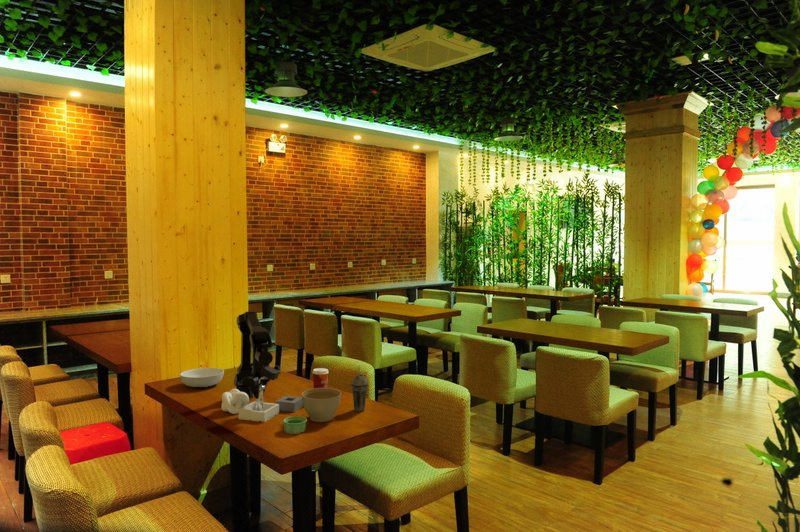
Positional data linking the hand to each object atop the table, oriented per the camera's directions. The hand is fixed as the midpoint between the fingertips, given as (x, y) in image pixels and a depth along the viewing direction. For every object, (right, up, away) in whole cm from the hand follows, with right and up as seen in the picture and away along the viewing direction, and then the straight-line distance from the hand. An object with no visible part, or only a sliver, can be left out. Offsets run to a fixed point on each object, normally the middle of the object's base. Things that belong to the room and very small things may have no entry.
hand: (259, 397), depth 226 cm
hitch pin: (0, -6, 0) cm, 6 cm away
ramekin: (+18, -9, -16) cm, 26 cm away
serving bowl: (-41, -6, +47) cm, 63 cm away
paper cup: (+22, -8, +26) cm, 35 cm away
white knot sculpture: (-13, -8, +7) cm, 17 cm away
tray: (0, -8, 0) cm, 8 cm away
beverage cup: (+41, -9, +11) cm, 43 cm away
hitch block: (+10, -8, +12) cm, 18 cm away
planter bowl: (+26, -9, -2) cm, 28 cm away
